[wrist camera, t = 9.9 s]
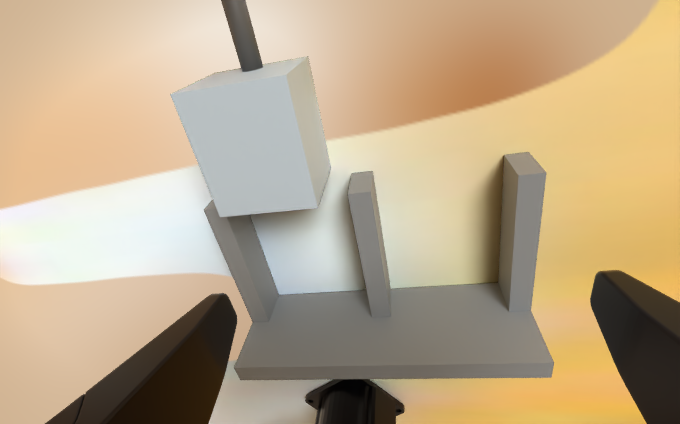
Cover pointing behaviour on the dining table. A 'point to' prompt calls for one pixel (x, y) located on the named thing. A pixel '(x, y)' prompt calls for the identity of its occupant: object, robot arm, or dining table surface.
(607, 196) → the dining table surface
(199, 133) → the orange knob joystick
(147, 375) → the robot arm
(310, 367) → the lane rack
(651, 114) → the dining table surface
